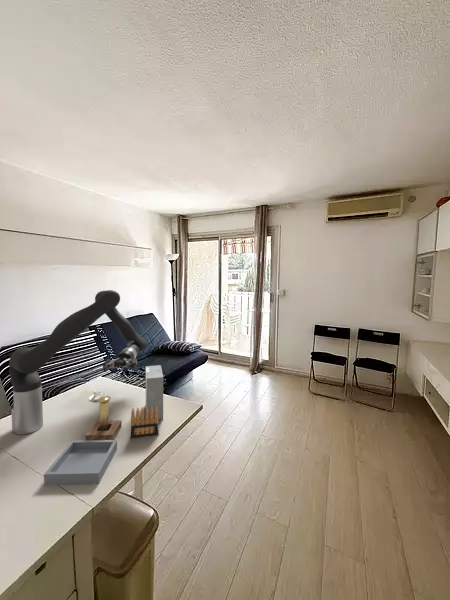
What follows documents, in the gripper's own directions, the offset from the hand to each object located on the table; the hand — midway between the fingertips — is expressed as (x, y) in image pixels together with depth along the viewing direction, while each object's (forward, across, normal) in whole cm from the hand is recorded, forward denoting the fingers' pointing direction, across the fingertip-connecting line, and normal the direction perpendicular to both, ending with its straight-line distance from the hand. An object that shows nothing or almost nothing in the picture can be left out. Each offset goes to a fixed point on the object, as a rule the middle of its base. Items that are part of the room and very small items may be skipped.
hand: (114, 370), depth 113 cm
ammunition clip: (+13, +16, +22) cm, 30 cm away
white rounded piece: (-17, -19, +24) cm, 34 cm away
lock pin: (+13, 0, +22) cm, 25 cm away
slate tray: (+30, 0, +21) cm, 36 cm away
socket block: (+13, 0, +22) cm, 25 cm away
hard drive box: (-5, +15, +23) cm, 28 cm away
